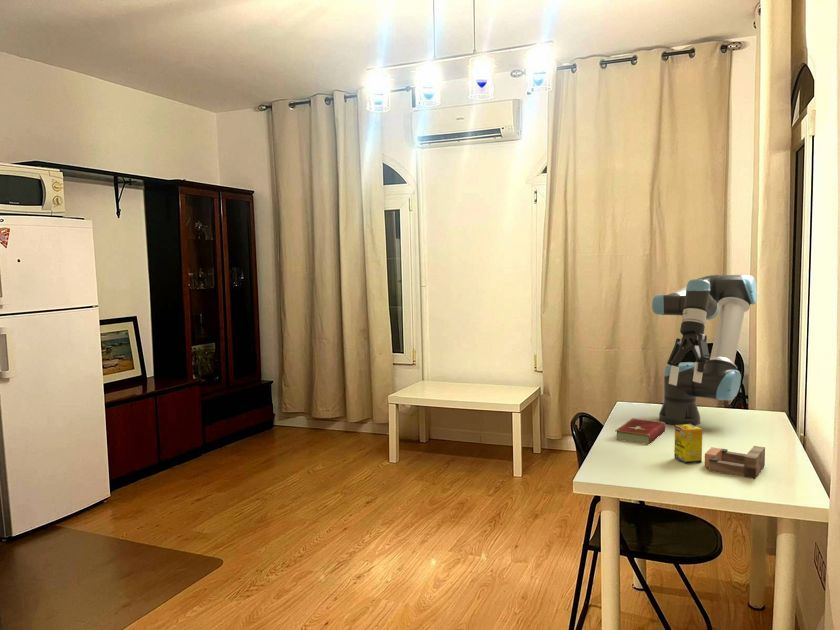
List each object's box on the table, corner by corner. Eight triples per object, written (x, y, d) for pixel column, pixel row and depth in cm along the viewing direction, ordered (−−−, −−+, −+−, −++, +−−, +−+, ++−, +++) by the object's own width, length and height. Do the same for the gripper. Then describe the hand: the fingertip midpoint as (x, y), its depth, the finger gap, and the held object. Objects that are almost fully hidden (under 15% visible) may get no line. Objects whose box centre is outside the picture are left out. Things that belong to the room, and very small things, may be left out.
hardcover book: (665, 432, 237) (665, 421, 237) (649, 446, 220) (649, 434, 219) (632, 428, 244) (632, 417, 243) (615, 441, 227) (615, 429, 226)
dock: (720, 459, 202) (720, 440, 202) (764, 466, 195) (765, 447, 194) (709, 470, 191) (709, 451, 191) (755, 479, 184) (755, 458, 183)
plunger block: (711, 459, 201) (711, 447, 201) (721, 461, 199) (722, 448, 199) (704, 466, 195) (704, 453, 194) (715, 468, 193) (715, 455, 193)
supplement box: (673, 458, 204) (674, 425, 203) (690, 457, 205) (691, 423, 204) (685, 464, 198) (685, 429, 197) (702, 462, 199) (702, 428, 199)
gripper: (662, 325, 231) (653, 382, 226) (706, 314, 207) (697, 378, 202) (681, 331, 232) (672, 388, 228) (726, 320, 208) (718, 383, 203)
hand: (684, 383), depth 215 cm, fingers open, 13 cm apart
